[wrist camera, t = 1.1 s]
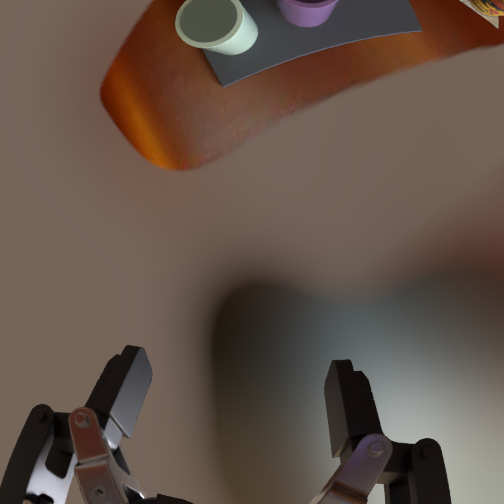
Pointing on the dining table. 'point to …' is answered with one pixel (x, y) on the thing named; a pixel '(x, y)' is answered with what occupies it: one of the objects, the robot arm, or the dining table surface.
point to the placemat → (310, 34)
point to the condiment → (487, 9)
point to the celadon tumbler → (216, 26)
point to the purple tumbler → (306, 11)
